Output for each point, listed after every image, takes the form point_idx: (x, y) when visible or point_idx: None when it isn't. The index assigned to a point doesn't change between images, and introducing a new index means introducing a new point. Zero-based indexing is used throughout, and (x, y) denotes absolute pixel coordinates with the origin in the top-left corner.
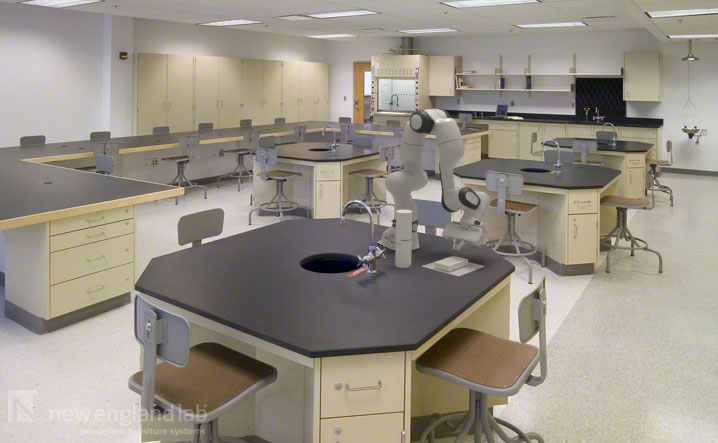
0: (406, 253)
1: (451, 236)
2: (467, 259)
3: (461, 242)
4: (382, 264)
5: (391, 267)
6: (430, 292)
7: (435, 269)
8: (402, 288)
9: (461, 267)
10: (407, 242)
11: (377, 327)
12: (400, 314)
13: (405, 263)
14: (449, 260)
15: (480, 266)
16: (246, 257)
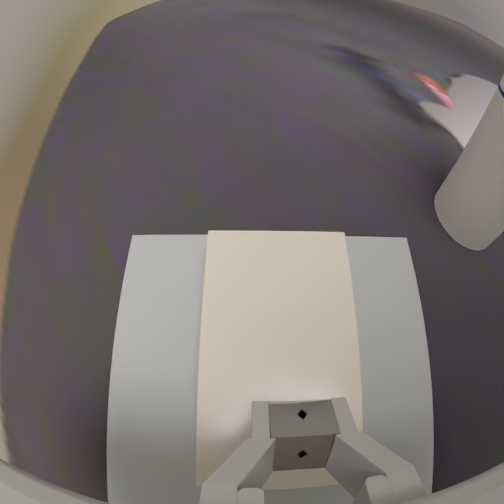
0: (467, 147)
1: (494, 471)
2: (199, 482)
3: (233, 481)
4: None
5: None
6: (163, 85)
7: None
8: (252, 65)
9: None
10: (496, 101)
11: (168, 9)
12: (161, 26)
13: (444, 182)
14: (300, 351)
15: (125, 501)
16: None
